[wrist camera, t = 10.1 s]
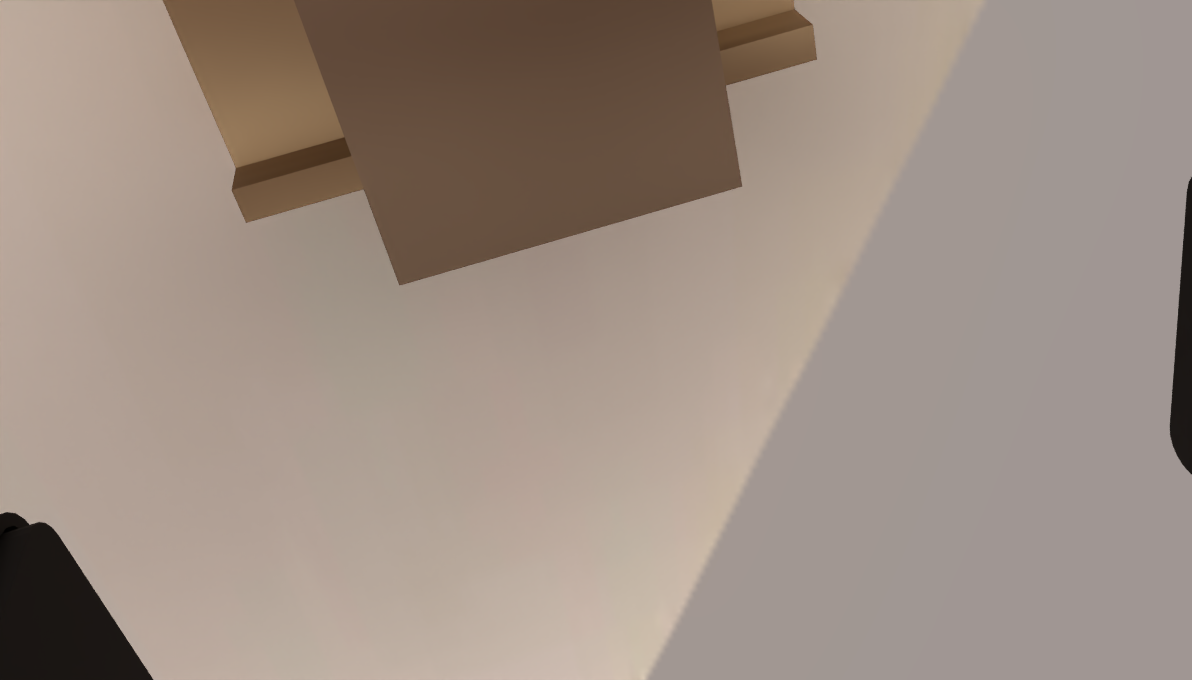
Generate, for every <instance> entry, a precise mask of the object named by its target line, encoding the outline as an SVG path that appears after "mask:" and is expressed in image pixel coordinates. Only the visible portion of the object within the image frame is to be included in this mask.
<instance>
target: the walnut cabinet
mask: <svg viewBox="0 0 1192 680" xmlns="http://www.w3.org/2000/svg"><path fill="white" fill-rule="evenodd" d="M294 2H295V5H296V8H297V10H298V13H299V16H300V18H301V21H302V24H303V26H304V29H305V32H306V34H307V37H308V40H309V43H310V45H311V48H312V51H313V53H314V56H315V59H316V61H317V64H318V67H319V70H320V72H321V75H322V78H323V80H324V83H325V86H326V88H327V91H328V94H329V97H330V99H331V102H332V105H333V107H334V110H335V113H336V115H337V118H338V121H339V124H340V126H341V129H342V132H343V134H344V137H345V140H346V142H347V145H348V148H349V151H350V153H351V156H352V159H353V161H354V164H355V167H356V169H357V172H358V175H359V178H360V180H361V183H362V186H363V188H364V191H365V194H366V196H367V199H368V202H369V205H370V207H371V210H372V213H373V215H374V218H375V221H376V223H377V226H378V229H379V231H380V234H381V237H382V240H383V242H384V245H385V248H386V250H387V253H388V256H389V258H390V261H391V264H392V267H393V269H394V272H395V275H396V277H397V280H398V283H399V285H403V284H406V283H410V282H413V281H417V280H420V279H424V278H427V277H430V276H434V275H437V274H441V273H444V272H448V271H451V270H455V269H458V268H462V267H465V266H469V265H472V264H475V263H479V262H482V261H486V260H489V259H493V258H496V257H500V256H503V255H507V254H510V253H513V252H517V251H520V250H524V249H527V248H531V247H534V246H538V245H541V244H545V243H548V242H552V241H555V240H558V239H562V238H565V237H569V236H572V235H576V234H579V233H583V232H586V231H590V230H593V229H596V228H600V227H603V226H607V225H610V224H614V223H617V222H621V221H624V220H628V219H631V218H634V217H638V216H641V215H645V214H648V213H652V212H655V211H659V210H662V209H666V208H669V207H673V206H676V205H679V204H683V203H686V202H690V201H693V200H697V199H700V198H704V197H707V196H711V195H714V194H717V193H721V192H724V191H728V190H731V189H735V188H738V187H742V183H741V176H740V170H739V164H738V158H737V152H736V146H735V140H734V134H733V128H732V121H731V115H730V109H729V103H728V97H727V91H726V85H725V79H724V73H723V66H722V60H721V54H720V48H719V42H718V36H717V30H716V24H715V18H714V11H713V5H712V0H294Z"/></svg>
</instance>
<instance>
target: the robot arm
mask: <svg viewBox="0 0 1192 680" xmlns="http://www.w3.org/2000/svg"><path fill="white" fill-rule="evenodd" d="M1170 436H1171V440H1172V444H1173V447H1174V449H1175V452H1176V454H1177V456H1178V458H1179V459H1180V461H1181V463H1182V464H1183V465H1184V467H1185V468H1186V469H1187V470H1188V471H1189V472H1190V473H1191V474H1192V177H1191V179H1190V181H1189V184H1188V189H1187V198H1186V212H1185V227H1184V239H1183V253H1182V267H1181V280H1180V294H1179V308H1178V321H1177V335H1176V349H1175V363H1174V376H1173V390H1172V404H1171V417H1170ZM0 680H153V678H152V677H151V675H150V674H149V672H148V671H147V669H146V668H145V666H144V665H143V663H142V662H141V660H140V659H139V657H138V656H137V654H136V653H135V651H134V650H133V648H132V646H131V645H130V643H129V642H128V640H127V639H126V637H125V636H124V634H123V633H122V631H121V630H120V628H119V627H118V625H117V624H116V622H115V621H114V619H113V618H112V616H111V615H110V613H109V611H108V610H107V608H106V607H105V605H104V604H103V602H102V601H101V599H100V598H99V596H98V595H97V593H96V592H95V590H94V589H93V587H92V586H91V584H90V583H89V581H88V580H87V578H86V576H85V575H84V573H83V572H82V570H81V569H80V567H79V566H78V564H77V563H76V561H75V560H74V558H73V557H72V555H71V554H70V552H69V551H68V549H67V548H66V546H65V545H64V543H63V541H62V540H61V538H60V537H59V535H58V534H57V533H56V532H55V531H54V529H53V528H52V527H51V526H49V525H48V524H46V523H41V522H38V523H35V524H31V525H29V524H28V523H27V521H26V520H25V519H23V518H22V517H20V516H19V515H17V514H16V513H9V512H6V513H3V514H0Z"/></svg>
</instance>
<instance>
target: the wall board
mask: <svg viewBox="0 0 1192 680" xmlns="http://www.w3.org/2000/svg"><path fill="white" fill-rule="evenodd" d="M163 2H164V4H165V6H166V9H167V11H168V13H169V16H170V18H171V20H172V22H173V25H174V27H175V29H176V32H177V34H178V36H179V38H180V41H181V43H182V45H183V48H184V50H185V52H186V54H187V57H188V59H189V61H190V64H191V66H192V68H193V71H194V73H195V75H196V77H197V80H198V82H199V84H200V87H201V89H202V91H203V93H204V96H205V98H206V100H207V103H208V105H209V107H210V110H211V112H212V114H213V116H214V119H215V121H216V123H217V126H218V128H219V130H220V132H221V135H222V137H223V139H224V142H225V144H226V146H227V148H228V151H229V153H230V155H231V158H232V160H233V162H234V165H235V167H236V171H235V176H234V181H233V186H232V192H233V194H234V197H235V199H236V201H237V203H238V206H239V208H240V210H241V212H242V215H243V217H244V219H245V221H246V223H247V222H250V221H254V220H257V219H261V218H264V217H268V216H271V215H275V214H278V213H282V212H285V211H289V210H292V209H296V208H299V207H303V206H306V205H310V204H313V203H317V202H320V201H324V200H327V199H331V198H334V197H338V196H341V195H345V194H348V193H352V192H355V191H359V190H362V189H364V188H363V186H362V183H361V180H360V178H359V175H358V172H357V169H356V167H355V164H354V161H353V159H352V156H351V153H350V151H349V148H348V145H347V142H346V140H345V137H344V134H343V132H342V129H341V126H340V124H339V121H338V118H337V115H336V113H335V110H334V107H333V105H332V102H331V99H330V97H329V94H328V91H327V88H326V86H325V83H324V80H323V78H322V75H321V72H320V70H319V67H318V64H317V61H316V59H315V56H314V53H313V51H312V48H311V45H310V43H309V40H308V37H307V34H306V32H305V29H304V26H303V24H302V21H301V18H300V16H299V13H298V10H297V8H296V5H295V2H294V0H163ZM712 5H713V11H714V18H715V24H716V30H717V36H718V42H719V48H720V54H721V60H722V66H723V73H724V79H725V85H729V84H733V83H736V82H740V81H743V80H747V79H750V78H753V77H757V76H760V75H764V74H767V73H771V72H774V71H778V70H781V69H785V68H788V67H792V66H795V65H799V64H802V63H806V62H809V61H813V60H816V59H817V57H816V48H815V40H814V31H813V24H811V23H810V22H809V21H808V20H807V19H805V18H804V17H803V16H802V15H801V14H799V13H798V12H797V11H796V10H795V9H794V1H793V0H712Z"/></svg>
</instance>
